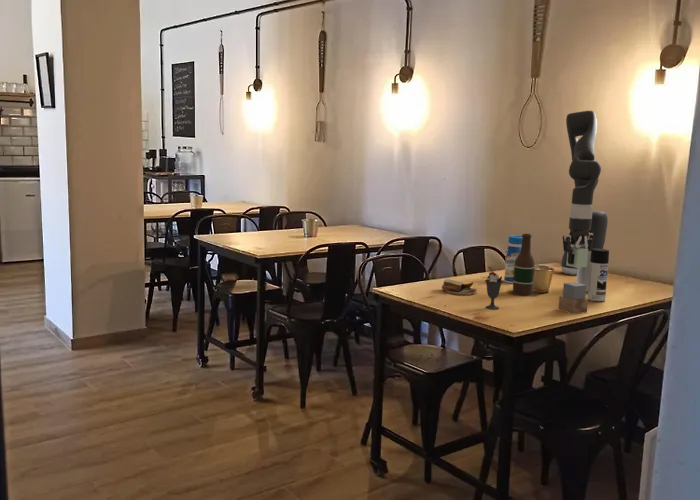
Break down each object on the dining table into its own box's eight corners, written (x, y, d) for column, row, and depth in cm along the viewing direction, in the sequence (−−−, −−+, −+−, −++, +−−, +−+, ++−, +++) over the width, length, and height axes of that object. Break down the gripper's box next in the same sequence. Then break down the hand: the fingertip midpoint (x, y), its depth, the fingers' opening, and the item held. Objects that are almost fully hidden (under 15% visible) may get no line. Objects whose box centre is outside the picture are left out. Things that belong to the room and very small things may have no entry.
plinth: (572, 307, 251) (573, 294, 250) (586, 312, 245) (588, 299, 244) (558, 309, 248) (559, 296, 247) (572, 314, 242) (573, 300, 241)
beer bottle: (532, 295, 268) (537, 235, 264) (512, 294, 270) (517, 234, 266) (531, 291, 276) (536, 233, 272) (512, 290, 277) (516, 232, 273)
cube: (574, 295, 249) (575, 282, 248) (585, 298, 244) (586, 285, 244) (562, 296, 247) (563, 283, 246) (573, 299, 242) (574, 286, 241)
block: (576, 264, 247) (577, 246, 246) (586, 266, 243) (588, 249, 242) (566, 265, 245) (567, 247, 244) (576, 267, 240) (578, 249, 239)
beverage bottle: (526, 281, 295) (529, 236, 292) (519, 285, 288) (523, 238, 285) (507, 279, 300) (510, 234, 296) (500, 282, 293) (504, 236, 289)
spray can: (596, 302, 260) (601, 251, 257) (583, 298, 266) (587, 248, 263) (608, 301, 263) (613, 250, 260) (595, 297, 269) (599, 247, 266)
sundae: (480, 305, 249) (483, 265, 247) (498, 305, 250) (500, 265, 247) (485, 310, 243) (488, 268, 240) (503, 310, 243) (506, 269, 241)
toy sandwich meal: (470, 297, 262) (471, 285, 262) (437, 293, 269) (438, 281, 268) (480, 292, 273) (481, 280, 273) (448, 287, 280) (449, 276, 279)
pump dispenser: (570, 276, 310) (573, 244, 307) (555, 272, 319) (557, 240, 317) (587, 275, 314) (590, 243, 312) (571, 271, 323) (574, 240, 321)
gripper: (587, 215, 247) (583, 260, 250) (558, 215, 241) (554, 262, 244) (603, 217, 241) (599, 264, 244) (573, 218, 234) (569, 266, 237)
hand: (576, 263), depth 244 cm, fingers closed on block, 5 cm apart
